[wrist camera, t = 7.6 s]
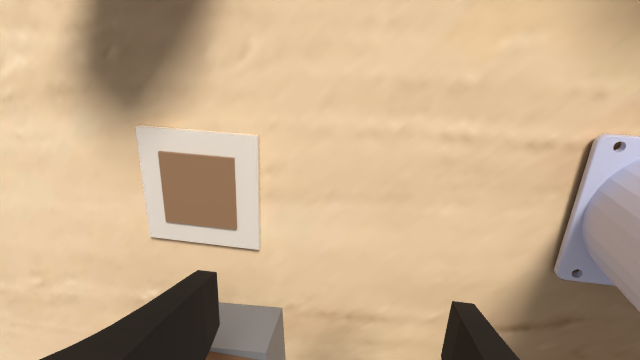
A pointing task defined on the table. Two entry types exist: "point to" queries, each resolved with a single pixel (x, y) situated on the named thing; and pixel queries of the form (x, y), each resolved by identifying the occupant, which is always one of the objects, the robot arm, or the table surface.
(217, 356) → the walnut block
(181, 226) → the tile
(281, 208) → the table surface
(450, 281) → the table surface
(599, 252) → the robot arm
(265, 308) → the base block
